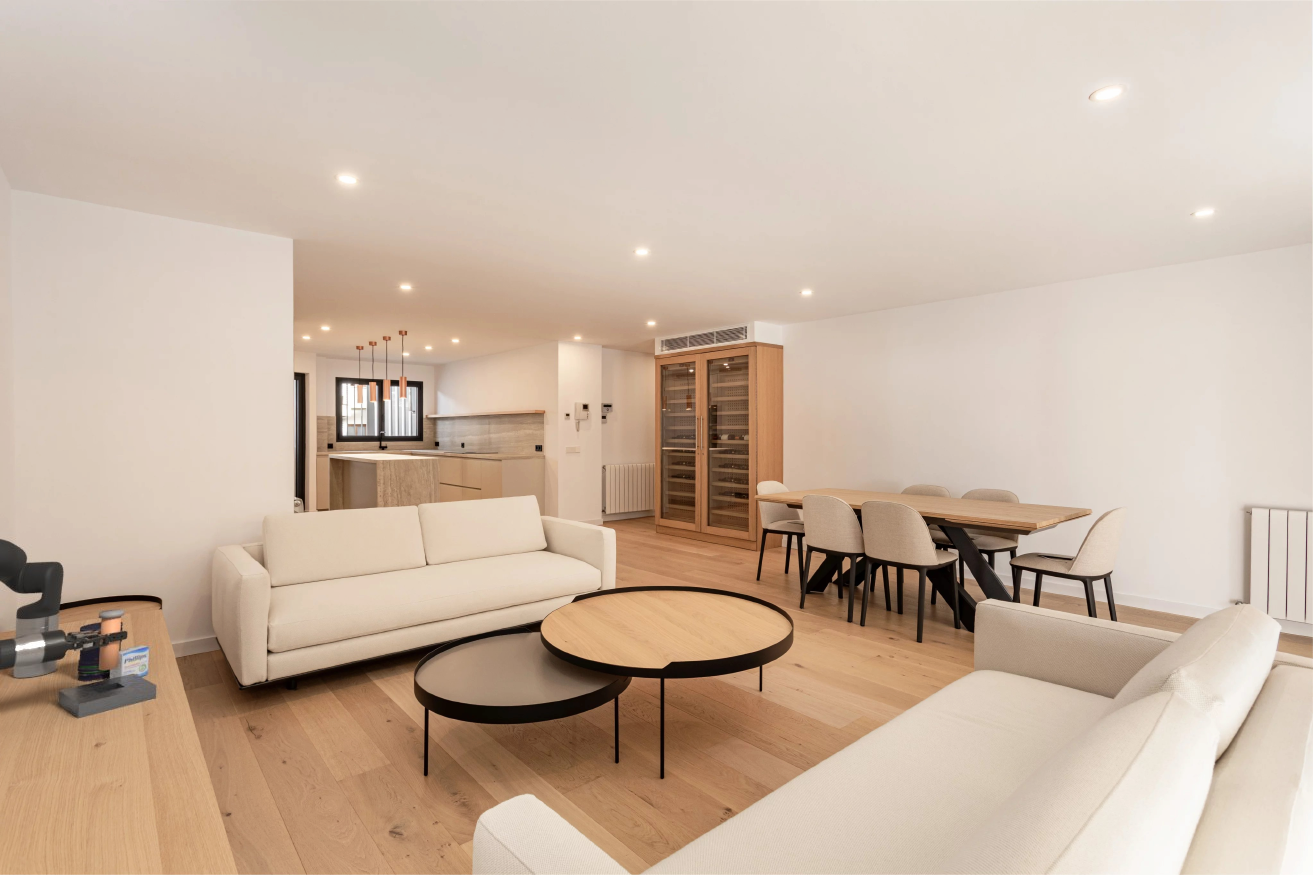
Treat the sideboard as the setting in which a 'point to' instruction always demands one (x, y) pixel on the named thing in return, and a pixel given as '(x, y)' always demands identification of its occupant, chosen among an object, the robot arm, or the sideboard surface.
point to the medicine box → (132, 662)
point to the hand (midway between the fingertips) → (123, 633)
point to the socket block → (106, 695)
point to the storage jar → (92, 659)
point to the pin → (111, 651)
